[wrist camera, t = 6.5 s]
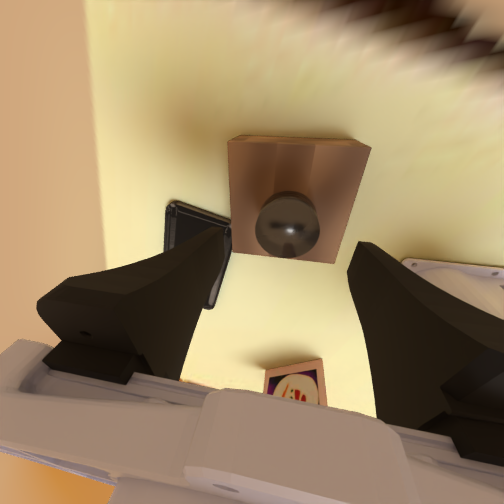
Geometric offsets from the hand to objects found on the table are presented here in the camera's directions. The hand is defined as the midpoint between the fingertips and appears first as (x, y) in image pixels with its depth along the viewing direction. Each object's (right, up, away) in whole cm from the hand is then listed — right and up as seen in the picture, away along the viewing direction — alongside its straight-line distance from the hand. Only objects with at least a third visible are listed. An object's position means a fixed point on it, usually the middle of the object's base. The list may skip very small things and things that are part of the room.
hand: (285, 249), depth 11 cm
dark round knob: (+2, +5, +8) cm, 9 cm away
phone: (-9, -1, +15) cm, 17 cm away
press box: (+2, +5, +8) cm, 9 cm away
